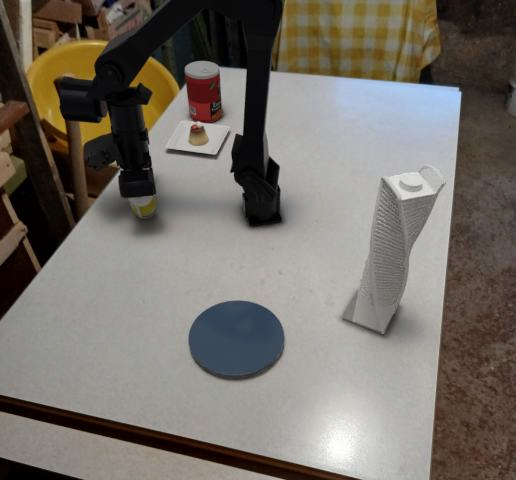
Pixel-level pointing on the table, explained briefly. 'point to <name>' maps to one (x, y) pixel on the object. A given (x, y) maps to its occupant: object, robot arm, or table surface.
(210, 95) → the canned food
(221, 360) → the plate
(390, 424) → the table surface
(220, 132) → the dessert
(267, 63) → the robot arm
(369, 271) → the skyscraper
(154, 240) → the table surface
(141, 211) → the supplement bottle
